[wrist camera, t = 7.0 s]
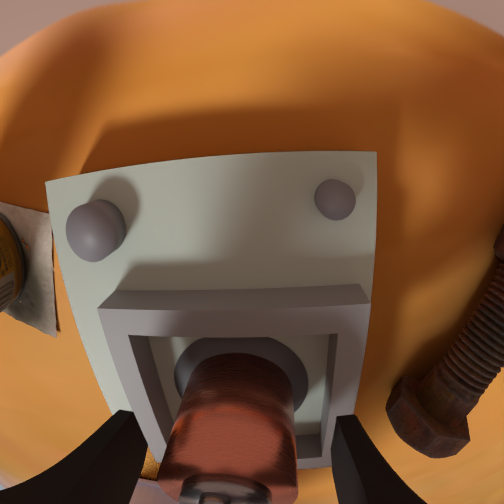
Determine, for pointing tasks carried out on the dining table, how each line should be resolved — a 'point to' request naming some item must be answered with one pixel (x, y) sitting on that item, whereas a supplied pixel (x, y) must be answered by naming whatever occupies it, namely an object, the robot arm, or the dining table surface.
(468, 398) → the bolt
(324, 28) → the dining table surface
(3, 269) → the yellow metal cylinder
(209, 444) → the orange short cylinder
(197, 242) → the button control panel
